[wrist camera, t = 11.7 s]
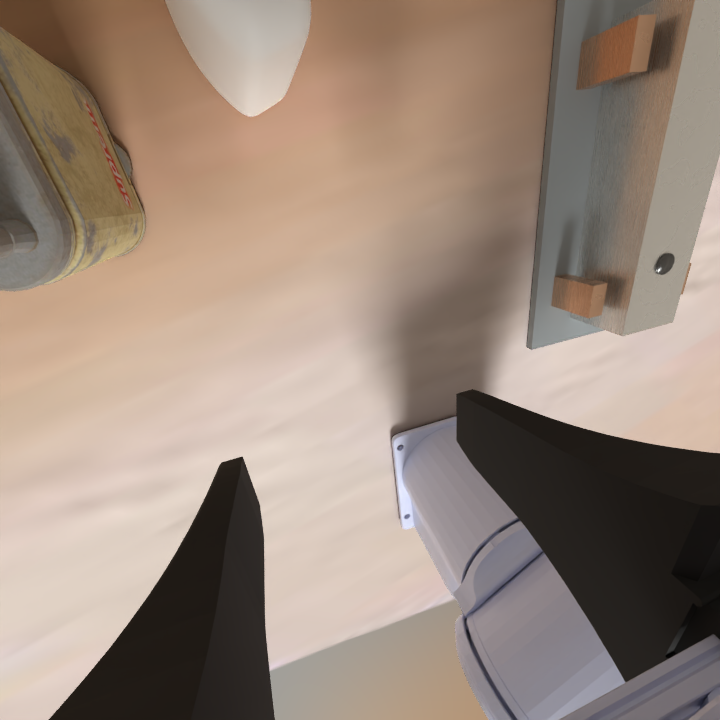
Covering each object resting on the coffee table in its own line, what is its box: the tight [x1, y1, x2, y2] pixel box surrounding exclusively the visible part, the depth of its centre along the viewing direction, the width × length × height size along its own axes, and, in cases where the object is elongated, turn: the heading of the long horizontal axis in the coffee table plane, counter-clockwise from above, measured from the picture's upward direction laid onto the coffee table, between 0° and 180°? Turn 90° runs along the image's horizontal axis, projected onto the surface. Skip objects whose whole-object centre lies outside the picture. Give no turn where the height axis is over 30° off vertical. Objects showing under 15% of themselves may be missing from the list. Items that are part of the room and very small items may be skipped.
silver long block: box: [570, 0, 720, 336], centre depth 20 cm, size 16×4×4 cm, turn 7°
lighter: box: [0, 27, 146, 291], centre depth 10 cm, size 7×4×10 cm, turn 10°
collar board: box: [527, 0, 691, 350], centre depth 21 cm, size 20×10×4 cm, turn 7°
